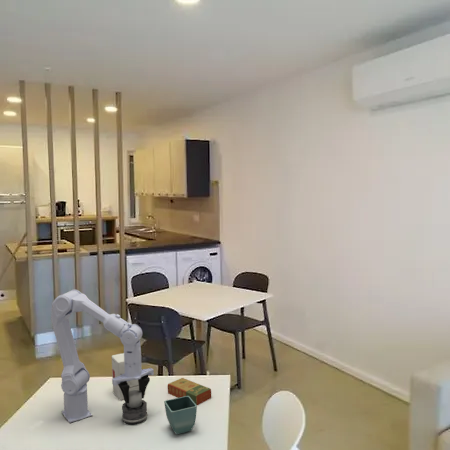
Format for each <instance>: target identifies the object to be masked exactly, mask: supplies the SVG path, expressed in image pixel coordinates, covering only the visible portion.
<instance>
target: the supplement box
mask: <svg viewBox="0 0 450 450" xmlns="http://www.w3.org/2000/svg"><path fill="white" fill-rule="evenodd" d="M111 371H112V372H111V374H112V378H116V377H118V376H120V375H122V374H124V373H125V367H124V352H123V353H117V354H113V355H111ZM112 378H111V379H112ZM127 383H128V385H129V386H130V387H129V391H132V390H139V383H138V380H131V381H127ZM113 392H114V393H113ZM112 393H113V394H114V395H115V397H116V398H117V399H118V400H119V401H120V402H121V401H124V397H123V394H122V391H121V389H120V387H119V386H118V384H117V385H116V386H114V385H113V384H112Z"/></svg>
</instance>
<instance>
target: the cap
mask: <svg viewBox="0 0 450 450" xmlns="http://www.w3.org/2000/svg"><path fill="white" fill-rule="evenodd" d="M142 400H143V399H142V392H141V391H140V390H132V391H129V403H127V406H128V407H130V408H136V407H139V406H141V405H142Z"/></svg>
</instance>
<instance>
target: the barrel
mask: <svg viewBox="0 0 450 450" xmlns="http://www.w3.org/2000/svg"><path fill="white" fill-rule="evenodd" d="M147 404H148V402H147V401H145V400H144V399H142V405H141V406H139V407H136V408H130V407H128V406H127V403H126V402H125V401H124V403H122V405H121V411H122V416H121V417H122V418H121V420H122V422H123V424H125V425H130V426H137V425H140V424H142V423H144V422H145V421H147V420H148V410H147V409H148V408H147V407H148V406H147Z"/></svg>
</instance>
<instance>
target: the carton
mask: <svg viewBox="0 0 450 450" xmlns="http://www.w3.org/2000/svg"><path fill="white" fill-rule="evenodd" d="M167 393H168V394H169V395H170V396H173V397H175V398H180V397H184V396H189V397H190V398H191V399H192V400H193V402H194V403H195V404H196V405H197V406H199V405H201V404H203V403H205V402H206V401H209V400H210V399H212V389H211V388H210V387H208V386H205V385H202V384H200V383H197V382H194V381H191V380H190V379H187V378H184V377H181V378H178V379H176V380H173V381H172V382H169V383H168V384H167Z"/></svg>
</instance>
